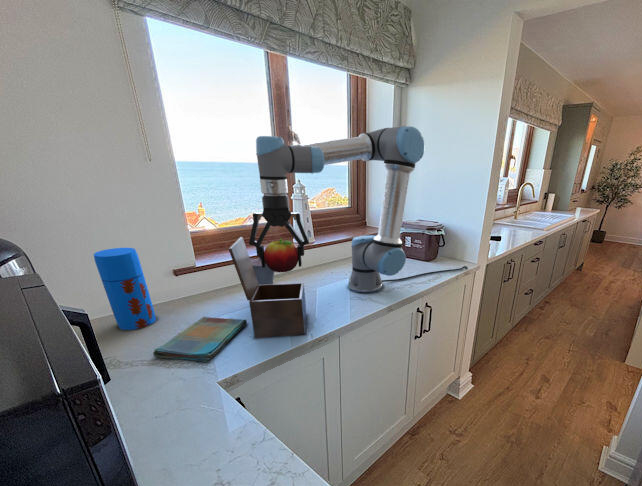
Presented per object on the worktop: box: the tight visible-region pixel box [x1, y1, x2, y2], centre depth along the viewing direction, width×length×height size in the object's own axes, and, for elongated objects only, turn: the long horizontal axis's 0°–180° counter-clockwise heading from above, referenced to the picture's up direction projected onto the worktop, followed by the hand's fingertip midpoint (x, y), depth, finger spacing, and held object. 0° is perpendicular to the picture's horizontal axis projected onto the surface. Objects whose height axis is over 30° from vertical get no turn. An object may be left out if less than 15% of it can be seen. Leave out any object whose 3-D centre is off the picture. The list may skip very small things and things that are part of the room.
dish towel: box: [152, 316, 248, 363], centre depth 102 cm, size 17×23×2 cm
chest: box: [248, 282, 307, 339], centre depth 109 cm, size 16×15×13 cm
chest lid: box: [228, 236, 258, 301], centre depth 101 cm, size 16×15×1 cm
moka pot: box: [250, 257, 275, 285], centre depth 124 cm, size 10×15×20 cm, turn 78°
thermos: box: [93, 247, 157, 331], centre depth 106 cm, size 11×11×25 cm
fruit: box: [264, 238, 299, 273], centre depth 103 cm, size 11×11×10 cm
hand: (282, 265), depth 105 cm, fingers closed on fruit, 11 cm apart
